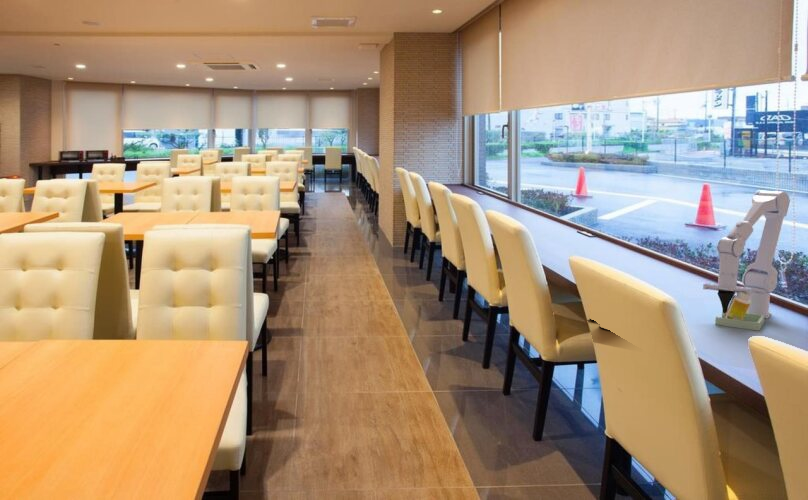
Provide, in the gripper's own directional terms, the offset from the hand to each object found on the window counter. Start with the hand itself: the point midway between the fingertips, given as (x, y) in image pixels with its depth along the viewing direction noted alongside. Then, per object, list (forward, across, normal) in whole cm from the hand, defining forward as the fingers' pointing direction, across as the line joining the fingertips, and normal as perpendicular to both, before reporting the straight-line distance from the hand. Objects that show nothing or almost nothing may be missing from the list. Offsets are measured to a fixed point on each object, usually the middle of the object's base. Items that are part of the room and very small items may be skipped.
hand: (724, 312), depth 223 cm
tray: (+3, +5, 0) cm, 6 cm away
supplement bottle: (+2, +2, 0) cm, 3 cm away
